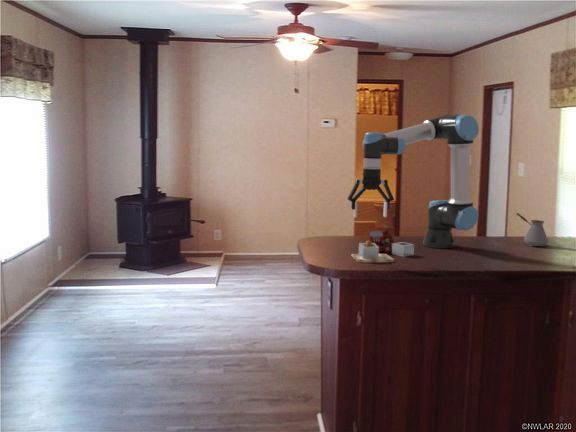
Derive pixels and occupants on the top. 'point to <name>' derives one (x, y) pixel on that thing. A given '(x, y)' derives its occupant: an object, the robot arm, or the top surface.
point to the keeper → (380, 258)
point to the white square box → (368, 251)
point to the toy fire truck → (381, 239)
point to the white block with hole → (403, 249)
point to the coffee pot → (535, 233)
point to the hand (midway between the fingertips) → (370, 216)
